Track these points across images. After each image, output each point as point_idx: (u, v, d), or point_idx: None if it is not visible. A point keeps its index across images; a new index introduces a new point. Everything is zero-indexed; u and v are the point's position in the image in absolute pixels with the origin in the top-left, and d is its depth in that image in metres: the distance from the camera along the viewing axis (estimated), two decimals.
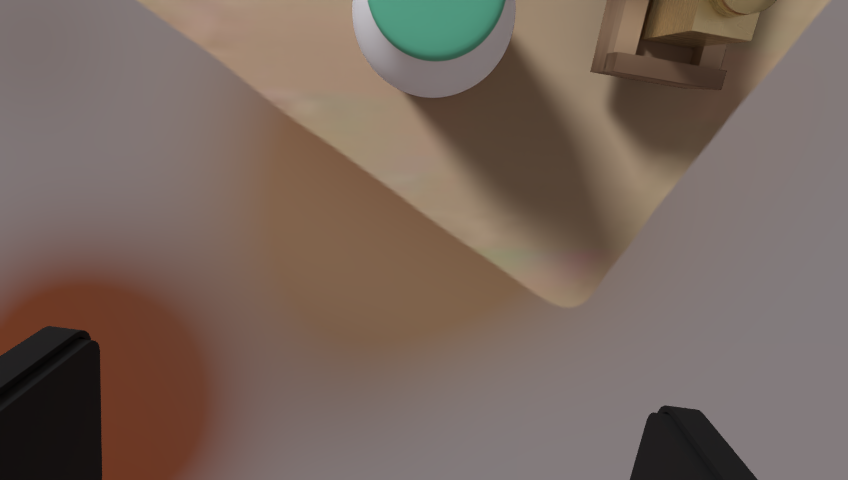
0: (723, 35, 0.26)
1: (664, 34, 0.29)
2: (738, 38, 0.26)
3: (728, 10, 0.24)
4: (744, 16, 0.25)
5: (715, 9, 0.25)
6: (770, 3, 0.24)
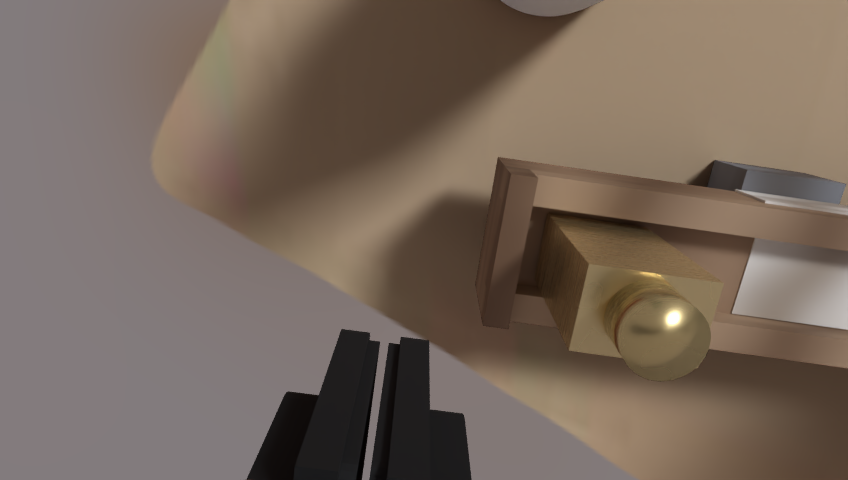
0: (578, 311, 0.17)
1: (566, 236, 0.19)
2: (572, 332, 0.17)
3: (622, 310, 0.16)
4: (604, 336, 0.17)
5: (619, 293, 0.17)
6: (633, 367, 0.16)
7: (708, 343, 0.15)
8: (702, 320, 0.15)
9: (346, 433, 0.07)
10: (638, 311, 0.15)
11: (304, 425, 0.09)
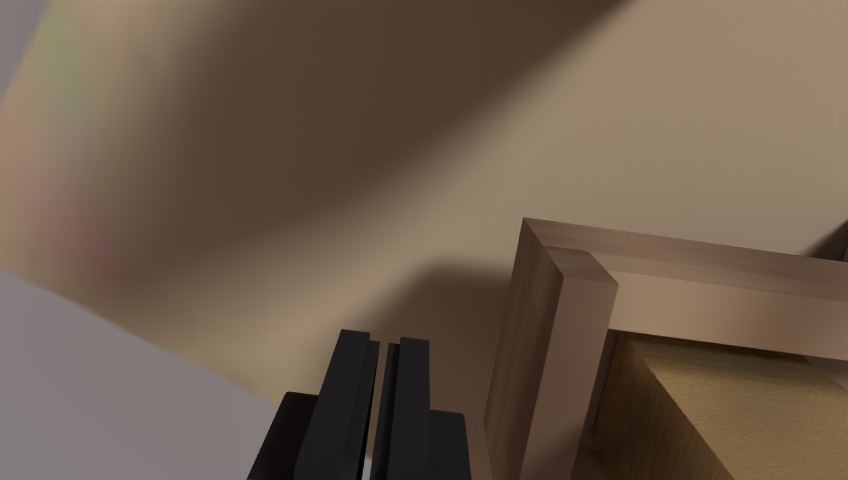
0: None
1: (689, 418, 0.09)
2: None
3: None
4: None
5: None
6: None
7: None
8: None
9: (346, 433, 0.07)
10: None
11: (304, 425, 0.09)
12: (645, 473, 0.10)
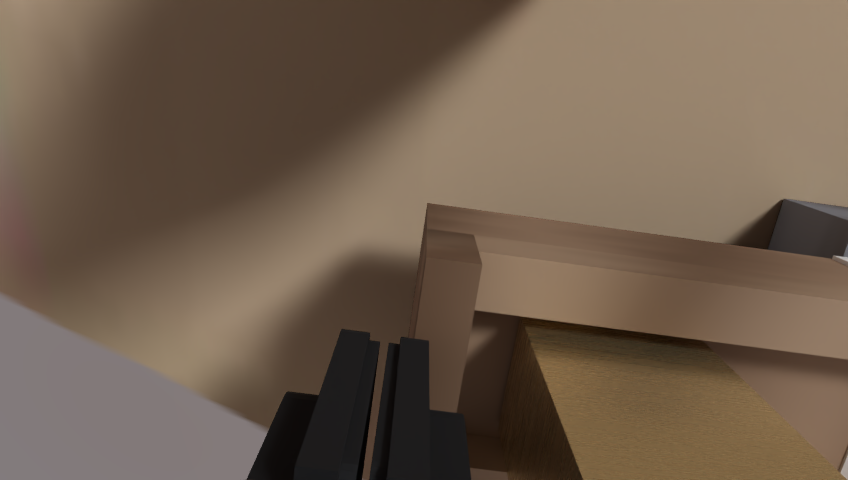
0: None
1: (555, 400, 0.09)
2: None
3: None
4: None
5: None
6: None
7: None
8: None
9: (346, 433, 0.07)
10: None
11: (303, 425, 0.09)
12: (525, 458, 0.10)
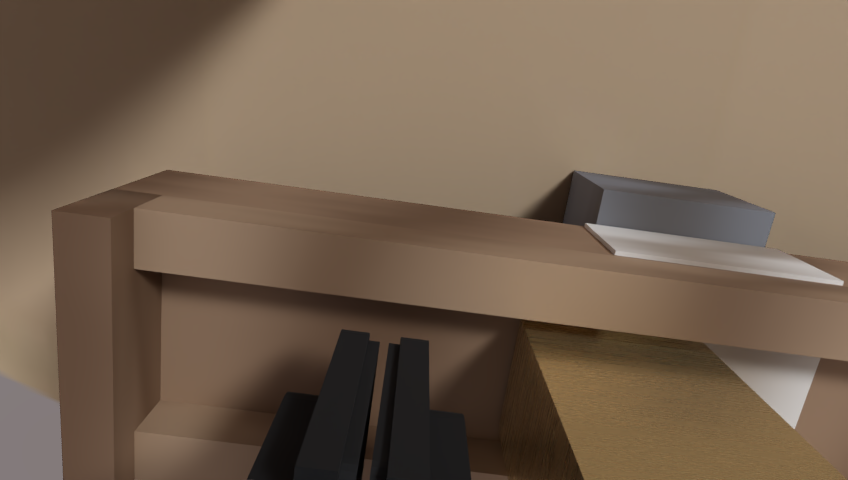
0: None
1: (556, 404, 0.09)
2: None
3: None
4: None
5: None
6: None
7: None
8: None
9: (346, 433, 0.07)
10: None
11: (304, 425, 0.09)
12: (526, 462, 0.10)
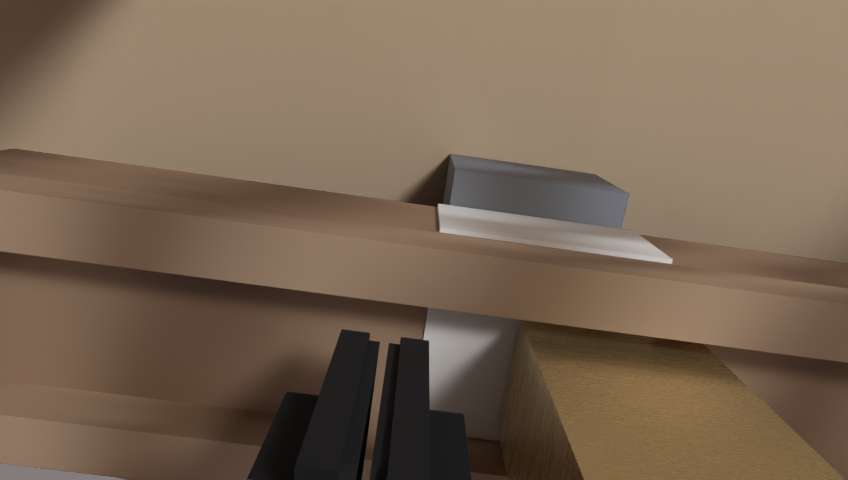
0: None
1: (556, 405, 0.09)
2: None
3: None
4: None
5: None
6: None
7: None
8: None
9: (346, 433, 0.07)
10: None
11: (305, 425, 0.09)
12: (526, 462, 0.10)
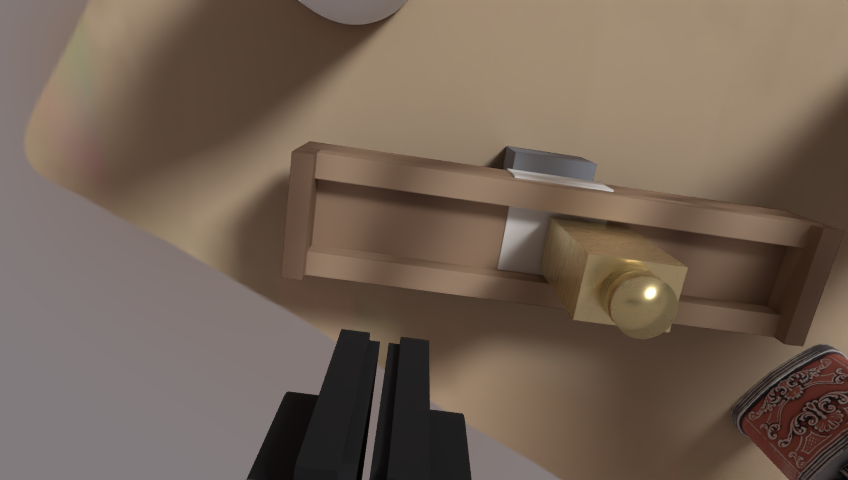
0: (580, 289, 0.22)
1: (568, 233, 0.25)
2: (576, 306, 0.23)
3: (614, 287, 0.21)
4: (599, 308, 0.23)
5: (611, 275, 0.22)
6: (622, 329, 0.21)
7: (676, 310, 0.21)
8: (672, 293, 0.21)
9: (346, 433, 0.07)
10: (626, 287, 0.21)
11: (304, 425, 0.09)
12: (556, 263, 0.26)
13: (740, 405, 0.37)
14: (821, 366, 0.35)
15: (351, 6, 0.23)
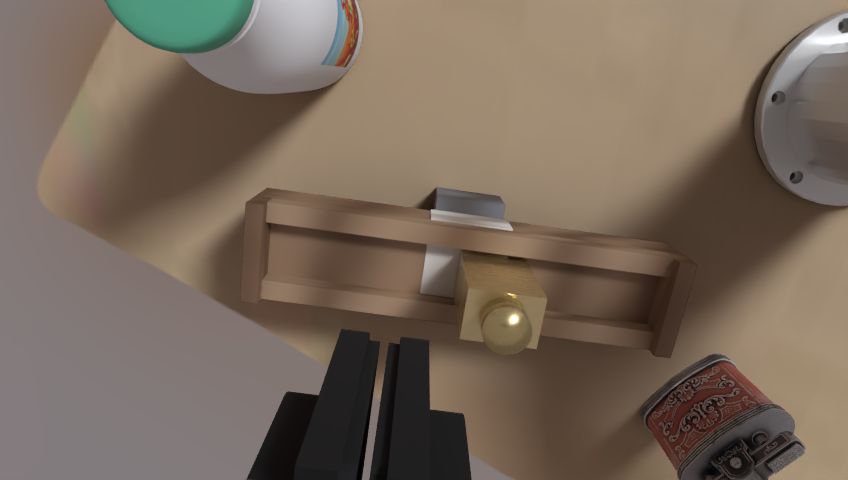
0: (464, 315, 0.29)
1: (465, 268, 0.31)
2: (461, 328, 0.29)
3: (485, 315, 0.28)
4: (480, 330, 0.29)
5: (486, 305, 0.28)
6: (490, 347, 0.27)
7: (531, 333, 0.27)
8: (526, 320, 0.27)
9: (346, 433, 0.07)
10: (490, 315, 0.27)
11: (304, 425, 0.09)
12: (458, 291, 0.32)
13: (647, 406, 0.43)
14: (711, 373, 0.41)
15: (287, 92, 0.30)
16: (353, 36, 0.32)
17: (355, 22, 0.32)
